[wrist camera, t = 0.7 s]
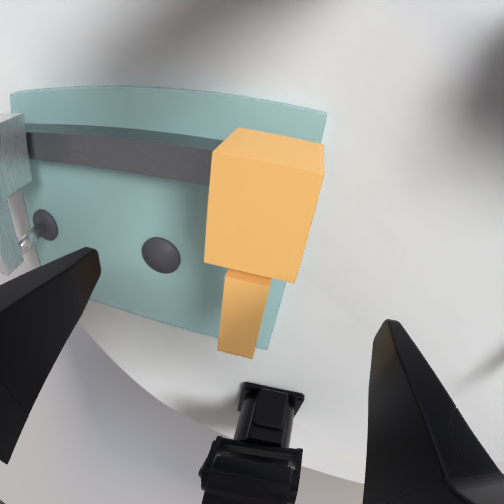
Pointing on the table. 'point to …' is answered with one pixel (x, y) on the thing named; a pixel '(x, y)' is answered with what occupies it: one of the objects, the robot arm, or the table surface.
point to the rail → (124, 150)
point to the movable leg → (258, 223)
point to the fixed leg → (13, 190)
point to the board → (147, 199)
